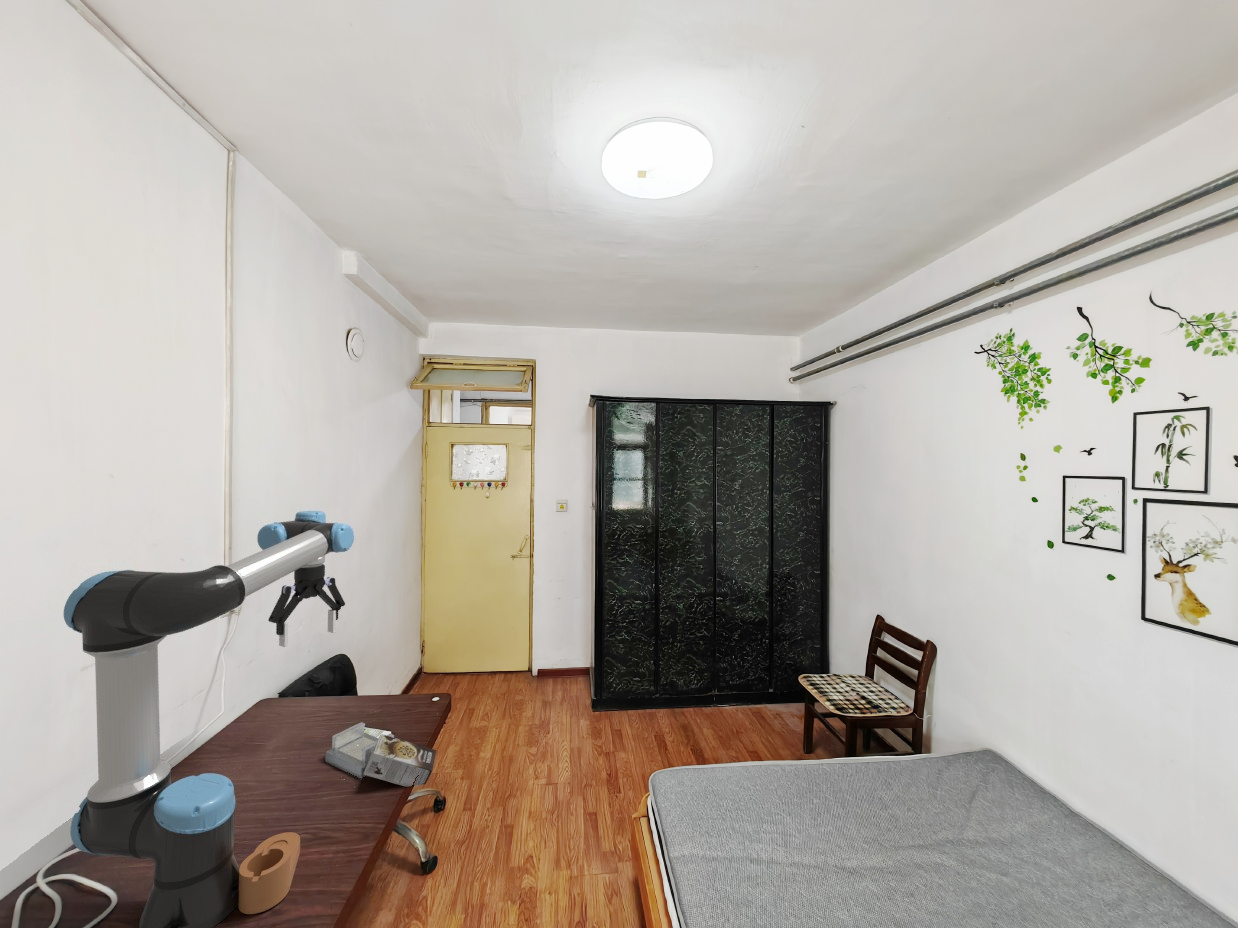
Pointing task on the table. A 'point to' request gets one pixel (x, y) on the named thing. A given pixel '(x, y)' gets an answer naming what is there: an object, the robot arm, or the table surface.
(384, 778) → the coffee box
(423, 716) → the table surface
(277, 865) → the bracket
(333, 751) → the aluminum channel piece
